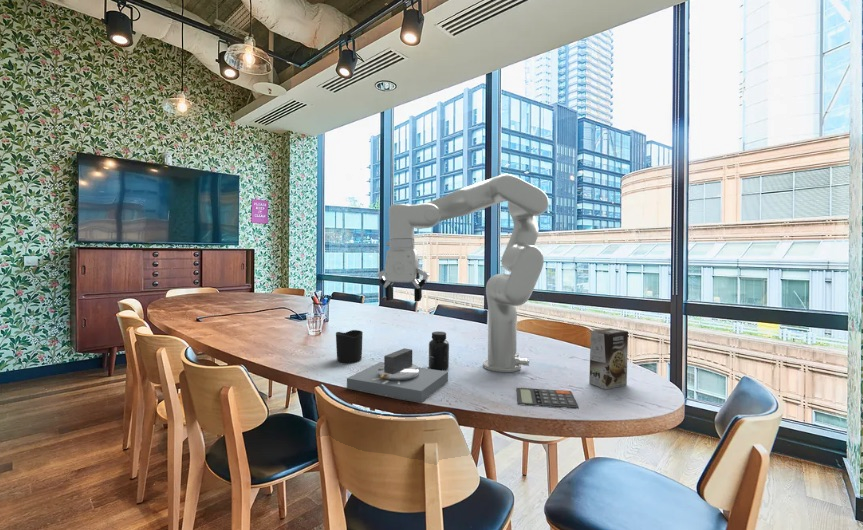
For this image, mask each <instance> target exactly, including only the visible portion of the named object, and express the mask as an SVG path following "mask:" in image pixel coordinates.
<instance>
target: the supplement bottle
mask: <svg viewBox="0 0 863 530" xmlns="http://www.w3.org/2000/svg"><path fill="white" fill-rule="evenodd" d="M446 339H447V332H445V331H433V332H431V340H430V341H429V342H428V369H433V370H440V371H446V370H448V369H449V365H450V342H449V341H448V340H446Z"/></svg>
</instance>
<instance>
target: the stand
mask: <svg viewBox="0 0 863 530" xmlns="http://www.w3.org/2000/svg"><path fill="white" fill-rule="evenodd" d="M383 365H384V362H383V361H380V362H378V363H376V364H373V365H371V366H369V367H367V368H365V369H362V370H361V371H359V372H357V373H355V374H353V375H351V376H348V377H346V389H348V390H353V391H357V392H358V391H359V392H365V393H370V394H374V393H376V394H375V395H379V394H381V396H385V395H387V396H386V397H390V396H391V398H396V397H397V398H396V399H401V400H406V399H407V400H408V401H412V400H413V402H418V403H423V402H424V401H425V400H426V399H427V398H429V397H430V396H432V395H433V394H434V393H436V390H437V391H438V390H439V389H440V388H442V387H443V386H445V385H446V384H447V383H448V382H449V371H446V370H443V371H440V370H433V369H430V368H425V367H419V375H418V376H417V377H415V378H413V379H409V380H401V381H393V380H386V379H382V378H380V377H379V376H378V369H379V368H380V367H381V366H383Z"/></svg>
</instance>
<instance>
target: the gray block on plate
mask: <svg viewBox="0 0 863 530" xmlns="http://www.w3.org/2000/svg"><path fill="white" fill-rule="evenodd" d="M383 360H384V365H383V366H381V367H380V368H379V369H378V376H379V377H380V378H382V379H386V380H393V381H401V380H409V379H413V378H415V377H417V376H418V375H419V368H420V367H419V366H418V365H417V364H413V349H411V348H410V349H409V348H401V349H399V350H395V351H394V352H390V353H388V354H386V355H384V357H383Z"/></svg>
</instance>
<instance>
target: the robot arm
mask: <svg viewBox="0 0 863 530" xmlns="http://www.w3.org/2000/svg"><path fill="white" fill-rule="evenodd" d="M504 202H507V210H508V213H509V215H510V217H511V219H512V221H513V222H512V223H513V229H512V232H511V235H510V237H509V240H508V242H507V245H506V247H505V249H504V252H503V254H502V256H501V266H502V267H503V269H504V270H506V271H507V272H509V273H510V274H506V273H497V274H494V275H492V276H491V277H490V278H489V279H488V280H487V282H486V287H485V295H486V301H487V316H488V317H487V319H488V320H487V324H488V325H487V359H486V360H484V361H483V364H482V366H483V368H484V369H486V370H487V371H491V372H495V373H514V372H517V371H519V370H520V371H521V368H522V366H526V367H529V366H530V360H529V359H528V358H523V357H521V356H519V354H520V353H518V352H517V340H518V339H517V338H518V337H517V336H518V335H517V333H518V331H517V329H518V325H517V324H518V321H517V319H518V315H517V308H516V307H519V306H522V305H525V304H526V303H527V301H529V299H530V297H531V296H532V294H533V291H534V289H535V287H536V284H537V283H538V280H539V277H540V275H541V273H542V269H543V267H544V255H543V252H542V250H541V249H540V248H539V247H537V246H536V242H537V239H538V236H539V226H538V222H537V221H538V220H537V219H536V217H538V216H541V215H543V214H544V213H545V212H546V211H547V210H548V208H549V203H550V202H549V197H548V195H547V194H546V193H545V192H544V191H543V190H542V189H540V188H539V187H537V186H536V185H533V184H531V183H529V182H527V181H526V180H523V179H521V177H518V176H516V175H514V174H510V173H504V174H500V175H497V176H494V177H491V178H489V179H485V180H483V181H479V182H477V183H474V184H470V185H468V186H465V187H463V188H460V189H457V190H455V191H452V192H450V193H449V194H447V195H443V196H441V197H438V198H436V199H433V200H430V201H428V202H425V203H420V204H419V203H418V204H408V203H395V204H391V205H390V206H389V208H388V223H389V224H388V225H389V241H386V242H385V245H386V246H387V247H389V248H388V249H387V251H386V256H385V263H384V264H385V265H384V266H385V267H384V269H383V270H381V271H379V272H378V273H377V277H378V279H379V281H380V283H381V284H382V286H383V288H385V289H384V290H385V291H384V292H385V298H386V301H392V300H393V299H394V288H393V286H392V285H393V284H394V283H411V284H413V285H414V287H415V288H414V289H413V290H414V291H413V292H414V293H413V294H414V295H413V296H414V300H413V301H414V302H416V303H417V302H421V300H422V297H423V296H422V295H423V292H422V290H423V289H422V288H423V287H424V286H425V284H427V282H428V279H429V277H430V273H429V272H427V271H425V270H424V269H422V268H420V261H419V256H418V255H419V254H418V251H417V249H415V229H417V230H422V229H429V228H433V227H435V226H437V225H438V224H439V223H441V222H443V221H447V220H450V219H455V218H460V217H465V216H466V215H471V214H473V213H475V212H479V211H480V210H484V209H487V208H489V207H492V206H494V205H497V204H500V203H504ZM421 276H422V279H420V277H421Z"/></svg>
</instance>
